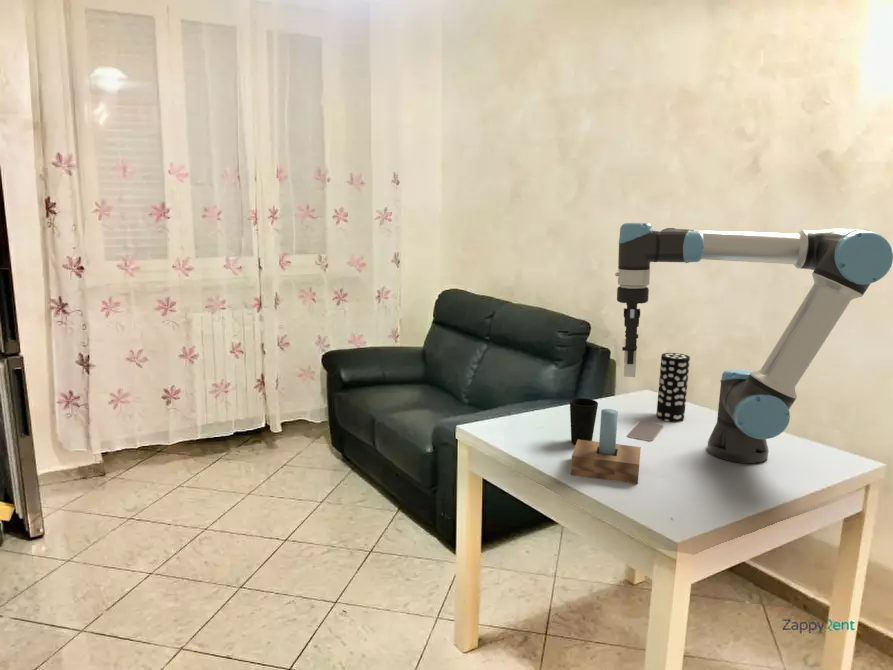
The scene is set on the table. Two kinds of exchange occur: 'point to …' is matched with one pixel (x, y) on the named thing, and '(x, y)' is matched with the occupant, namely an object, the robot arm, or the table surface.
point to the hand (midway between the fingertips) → (629, 369)
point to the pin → (608, 432)
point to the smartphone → (645, 431)
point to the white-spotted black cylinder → (672, 387)
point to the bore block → (606, 462)
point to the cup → (582, 419)
